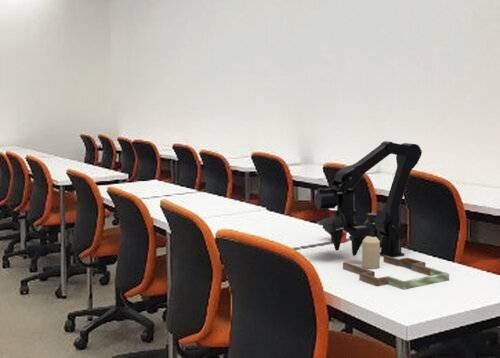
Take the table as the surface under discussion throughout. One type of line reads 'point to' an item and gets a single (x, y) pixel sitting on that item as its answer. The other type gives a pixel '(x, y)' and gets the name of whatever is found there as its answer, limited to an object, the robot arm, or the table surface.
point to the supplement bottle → (372, 226)
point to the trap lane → (404, 262)
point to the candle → (370, 252)
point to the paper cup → (343, 230)
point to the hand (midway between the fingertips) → (345, 253)
